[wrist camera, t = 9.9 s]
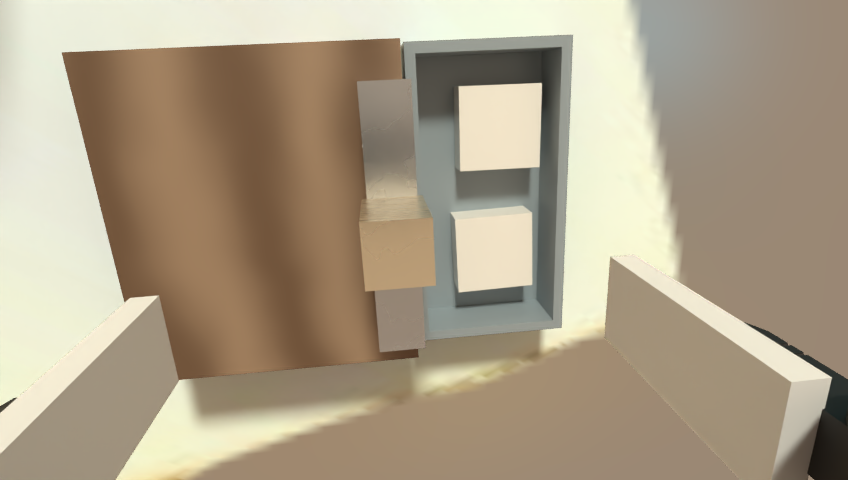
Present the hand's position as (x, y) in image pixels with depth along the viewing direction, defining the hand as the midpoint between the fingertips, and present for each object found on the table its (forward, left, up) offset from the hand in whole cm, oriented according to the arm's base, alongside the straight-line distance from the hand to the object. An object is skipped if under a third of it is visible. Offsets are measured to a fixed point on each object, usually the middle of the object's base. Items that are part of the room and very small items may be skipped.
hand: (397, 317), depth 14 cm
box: (+6, 0, -19) cm, 20 cm away
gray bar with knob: (0, 0, -13) cm, 13 cm away
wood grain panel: (-7, 0, -19) cm, 20 cm away
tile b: (+7, +4, -17) cm, 18 cm away
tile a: (+7, -4, -17) cm, 18 cm away
